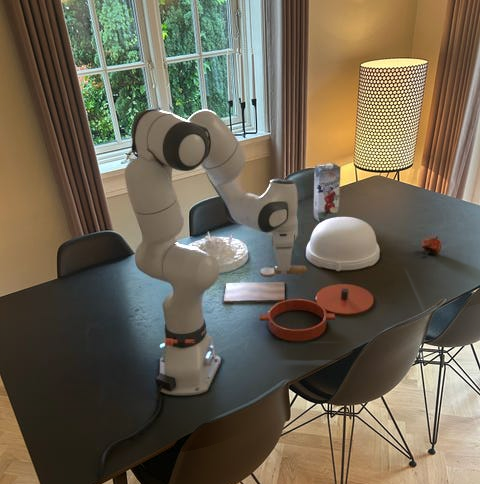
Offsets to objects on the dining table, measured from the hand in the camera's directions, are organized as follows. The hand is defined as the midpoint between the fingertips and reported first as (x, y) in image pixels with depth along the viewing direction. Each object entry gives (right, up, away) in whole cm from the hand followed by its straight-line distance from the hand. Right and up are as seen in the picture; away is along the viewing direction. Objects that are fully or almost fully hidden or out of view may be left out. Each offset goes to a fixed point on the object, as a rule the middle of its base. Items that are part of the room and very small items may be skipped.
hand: (283, 270), depth 162 cm
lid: (+23, -9, +14) cm, 28 cm away
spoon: (+1, -1, +1) cm, 1 cm away
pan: (+5, -18, +3) cm, 19 cm away
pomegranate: (+63, +10, +40) cm, 75 cm away
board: (-9, -7, +22) cm, 25 cm away
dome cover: (+28, +11, +45) cm, 54 cm away
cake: (-25, +10, +49) cm, 55 cm away
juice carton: (+27, +31, +76) cm, 86 cm away
